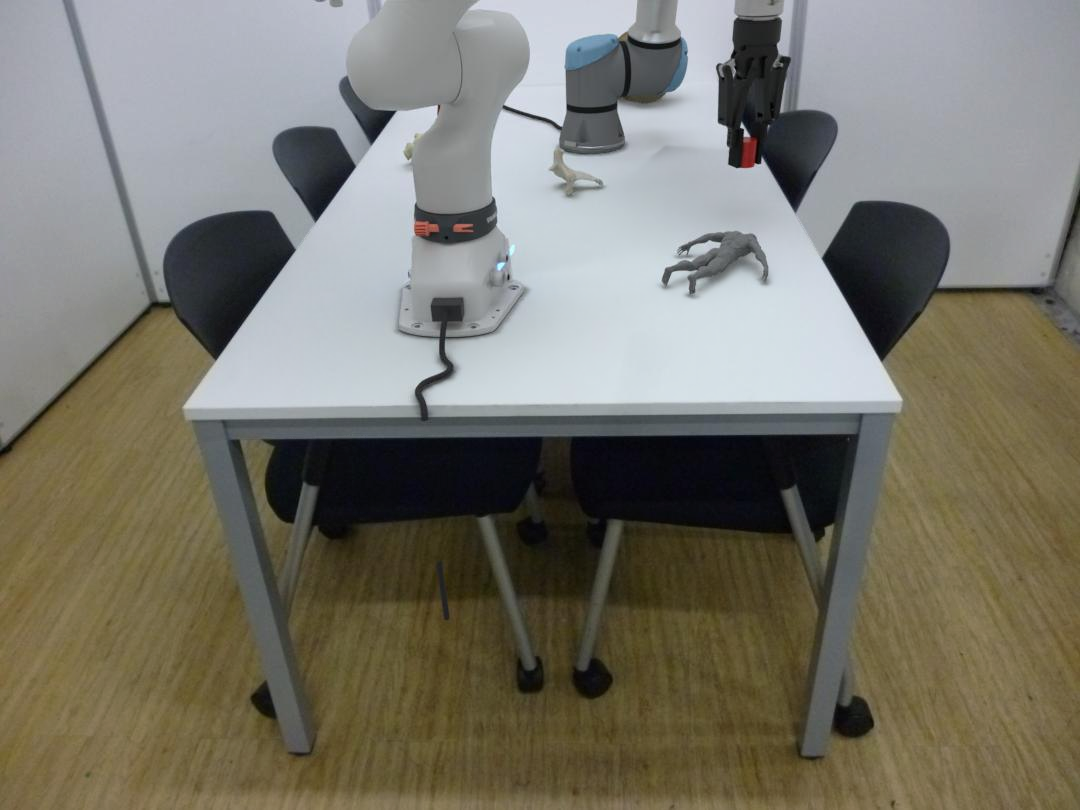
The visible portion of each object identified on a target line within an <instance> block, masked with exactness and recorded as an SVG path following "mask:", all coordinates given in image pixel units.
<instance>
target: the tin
mask: <svg viewBox="0 0 1080 810" xmlns="http://www.w3.org/2000/svg"><path fill="white" fill-rule="evenodd" d="M756 147H757V139H756V138H753V137H750V136H744V139H743V150H742V161H741V168H740V169H752V168H754V167H755V165H756V164H755V157H756Z"/></svg>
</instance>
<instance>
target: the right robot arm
mask: <svg viewBox="0 0 1080 810" xmlns="http://www.w3.org/2000/svg"><path fill="white" fill-rule="evenodd" d="M678 3H679V0H637V1H636V13H635V22H634V23H632V25H631V26H630V27H629V28H628V30H627V31H628V38H627V40H626V41H619V39H618V38H619V37H618V35H616V34H614V33H605V34H601V33H600V34H594V35H588V36H585V37H580V38H578V39H576V40H574V41H572V42H570V43H569V44H568V45H567V47H566V49H565V57H564V58H565V59H564V67H563V68H564V70H565V104H566V105H565V106H566V107H565V108H566V110H565V115H564V119H563V122H562V126H561V125H559V124H558V123H557V122H555V121H554V120H552V119H550V118H547V117H544V116H540V115H536V114H534V113H533V114H532V113H530V112H526V111H522V110H520V109H516V108H513V107H510V106H508V105H505V104H504V105H503V107H502V109H504V110H506V111H508V112H511V113H514V114H517V115H520V116H523V117H525V118H526V117H527V118H530V119H533V120H537V121H542V122H545V123H548V124H550V125H551V126H553V128H555V129H556V130H559V131H560V134H559V137H558V148H561V149H563V150H564V152H566V153H571V154H574V155H604V154H609V153H614V152H617V151H620V150H621V149H623V148H625V146H626V135H625V132H624V129H623V126H622V122H621V118H620V115H619V111H618V101H619V100H618V99H619V98H624V97H625V96H637V95H650V94H656V95H659V94H662V93H666V94H667V93H672V92H674V91H676V90H677V89H678V88H679V87H680V86H681V85H682V83H683V81H684V79H685V76H686V74H687V69H688V62H689V56H688V53H689V49H688V43H687V41H686V39H685V38H684V37H683V36H682V30H681V29H680V28H679V27H678V25H676V20H677V11H678V5H679V4H678ZM784 5H785V0H734V9H733V13H734V15H735V16H737V17H736V18H735V19H734V20H733V25H732V37H731V38H732V40H731V41H732V45H733V50H732V52H731V54H730V58H729V59H728V60H727V61H725V62H723V63H722V62H718V63H716V65H715V70H716V74H717V77H718V89H717V90H718V92H717V93H718V94H717V123H718V124H719V125H720V126H724V127H726V129H727V131H726V147H727V148H728V159H727V165H728V166H730V167H733V168H735V169H742V168H741V161H742V150H743V139H744V137H745V129H744V128H743V127H741V126H742V122H743V118H744V113H745V109H746V104H747V100H748V97H749V91H750V88H751V87H752V86H754V105H755V107H754V108H755V120H756V121H754V122H751V125H750V126H751V127H750V136H749V137H753V138H756V139H757V147H756V157H755V165H762V161H763V151H764V143H766V142H767V139H768V129H769V126H771V125H772V124H773V123H774V119H775V120H777V119H779V117H780V115H781V109H782V102H783V95H784V89H785V82H786V78H787V77H786V76H787V71H788V69H789V67H790V65H791V62H792V57H791V56H789V55H783V54H781V53H779V49H778V44H779V43H780V42H781V35H782V28H783V27H782V26H783V20H782V18H781V17H780V16H781V15H782V14H783V13H784Z"/></svg>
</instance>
